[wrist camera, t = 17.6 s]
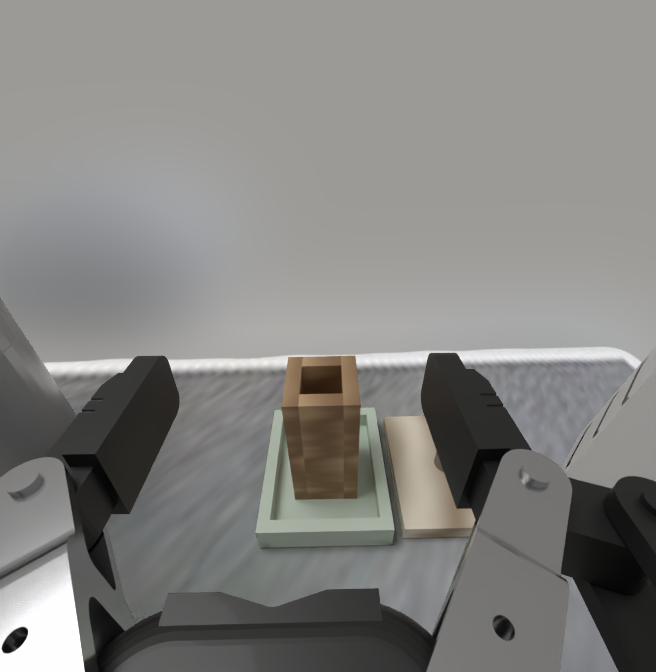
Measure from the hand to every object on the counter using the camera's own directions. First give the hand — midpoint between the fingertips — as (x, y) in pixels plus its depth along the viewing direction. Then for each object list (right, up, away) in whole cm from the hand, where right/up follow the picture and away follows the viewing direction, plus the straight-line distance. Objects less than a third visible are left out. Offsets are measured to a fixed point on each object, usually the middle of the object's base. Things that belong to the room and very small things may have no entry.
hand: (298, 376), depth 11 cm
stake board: (+12, -12, +23) cm, 29 cm away
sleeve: (+1, -12, +23) cm, 26 cm away
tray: (+1, -13, +23) cm, 26 cm away
